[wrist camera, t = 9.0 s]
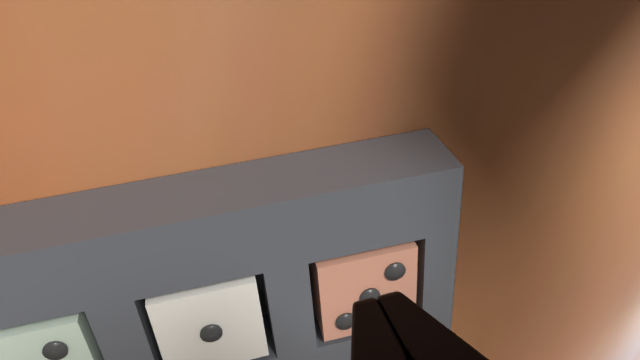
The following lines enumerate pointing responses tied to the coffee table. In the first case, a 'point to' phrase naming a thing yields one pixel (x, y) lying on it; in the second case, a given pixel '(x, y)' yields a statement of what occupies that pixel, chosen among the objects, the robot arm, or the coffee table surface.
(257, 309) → the key one dot
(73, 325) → the key two dots
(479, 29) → the coffee table surface
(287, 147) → the coffee table surface
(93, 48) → the coffee table surface
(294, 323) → the keypad
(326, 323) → the key three dots
